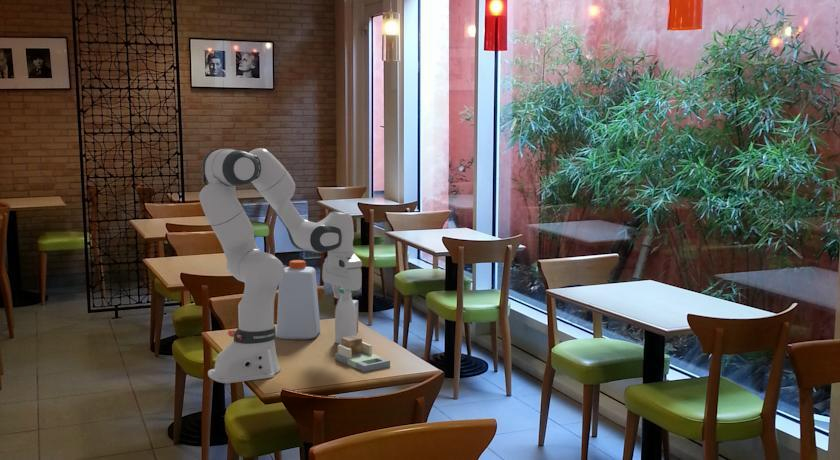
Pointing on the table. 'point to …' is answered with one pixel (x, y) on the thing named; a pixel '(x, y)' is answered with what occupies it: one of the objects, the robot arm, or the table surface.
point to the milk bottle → (345, 318)
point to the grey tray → (361, 358)
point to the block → (353, 343)
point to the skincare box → (356, 310)
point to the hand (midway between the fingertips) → (341, 299)
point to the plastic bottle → (298, 303)
